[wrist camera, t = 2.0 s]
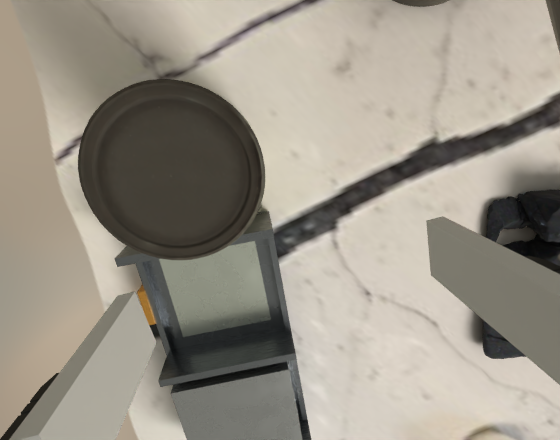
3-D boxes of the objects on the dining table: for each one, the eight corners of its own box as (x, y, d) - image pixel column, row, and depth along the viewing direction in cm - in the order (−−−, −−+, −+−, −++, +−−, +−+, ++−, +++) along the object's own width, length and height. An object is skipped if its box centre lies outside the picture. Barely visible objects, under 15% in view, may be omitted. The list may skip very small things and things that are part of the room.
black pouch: (455, 352, 42) (480, 379, 38) (486, 189, 36) (520, 198, 31) (561, 344, 44) (598, 369, 39) (609, 185, 37) (660, 194, 33)
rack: (129, 237, 33) (103, 262, 27) (268, 211, 34) (272, 230, 28) (195, 434, 42) (186, 485, 36) (305, 411, 42) (314, 458, 36)
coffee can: (177, 217, 33) (127, 282, 20) (134, 117, 30) (39, 114, 16) (272, 186, 33) (287, 231, 20) (238, 83, 30) (229, 51, 16)
